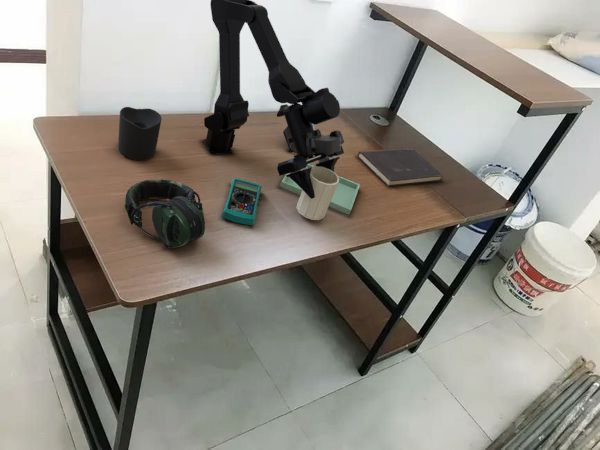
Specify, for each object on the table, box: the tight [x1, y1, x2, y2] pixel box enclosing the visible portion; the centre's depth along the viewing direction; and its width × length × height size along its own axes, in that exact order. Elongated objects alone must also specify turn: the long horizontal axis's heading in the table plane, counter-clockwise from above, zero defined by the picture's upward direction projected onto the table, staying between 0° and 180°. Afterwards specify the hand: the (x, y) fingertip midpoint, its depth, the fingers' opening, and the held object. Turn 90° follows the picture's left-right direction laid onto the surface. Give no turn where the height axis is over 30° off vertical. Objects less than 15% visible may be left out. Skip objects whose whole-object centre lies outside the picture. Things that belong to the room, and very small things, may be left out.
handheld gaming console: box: [282, 125, 297, 154], centre depth 152 cm, size 12×7×10 cm
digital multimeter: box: [221, 177, 262, 226], centre depth 121 cm, size 7×15×3 cm, turn 177°
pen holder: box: [117, 106, 163, 161], centre depth 124 cm, size 9×9×10 cm
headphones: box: [124, 178, 206, 249], centre depth 107 cm, size 13×13×20 cm
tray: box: [279, 163, 361, 216], centre depth 138 cm, size 19×14×2 cm
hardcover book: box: [357, 148, 444, 188], centre depth 161 cm, size 16×23×2 cm
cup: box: [295, 165, 339, 221], centre depth 123 cm, size 7×7×10 cm
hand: (322, 193), depth 122 cm, fingers closed on cup, 7 cm apart
